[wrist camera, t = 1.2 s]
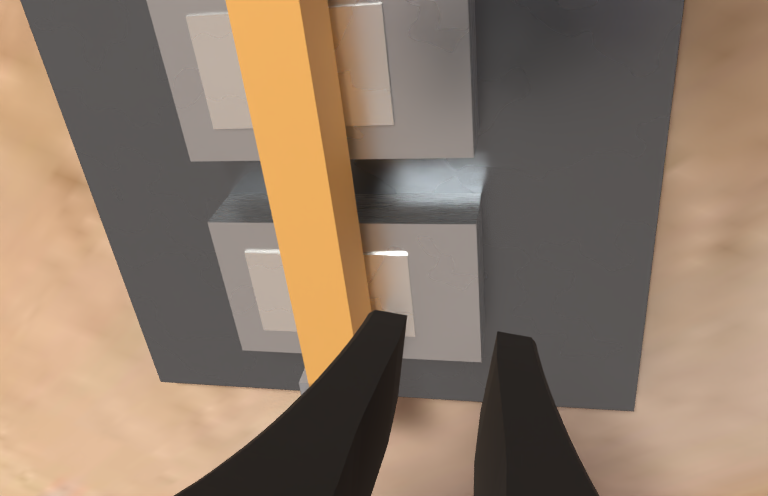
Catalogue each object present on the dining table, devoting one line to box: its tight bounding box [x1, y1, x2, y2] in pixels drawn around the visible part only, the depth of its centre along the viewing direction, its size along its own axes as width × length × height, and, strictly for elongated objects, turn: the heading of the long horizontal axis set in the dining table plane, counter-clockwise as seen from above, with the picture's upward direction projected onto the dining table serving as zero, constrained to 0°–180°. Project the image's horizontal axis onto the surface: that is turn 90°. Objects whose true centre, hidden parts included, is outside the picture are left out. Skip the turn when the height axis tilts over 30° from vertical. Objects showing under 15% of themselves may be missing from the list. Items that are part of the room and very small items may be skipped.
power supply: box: [146, 0, 479, 162], centre depth 18 cm, size 8×5×2 cm, turn 96°
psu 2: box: [207, 193, 485, 362], centre depth 22 cm, size 8×5×2 cm, turn 96°
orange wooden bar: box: [225, 0, 371, 395], centre depth 17 cm, size 18×3×2 cm, turn 6°
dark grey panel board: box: [20, 0, 684, 411], centre depth 19 cm, size 18×22×3 cm
